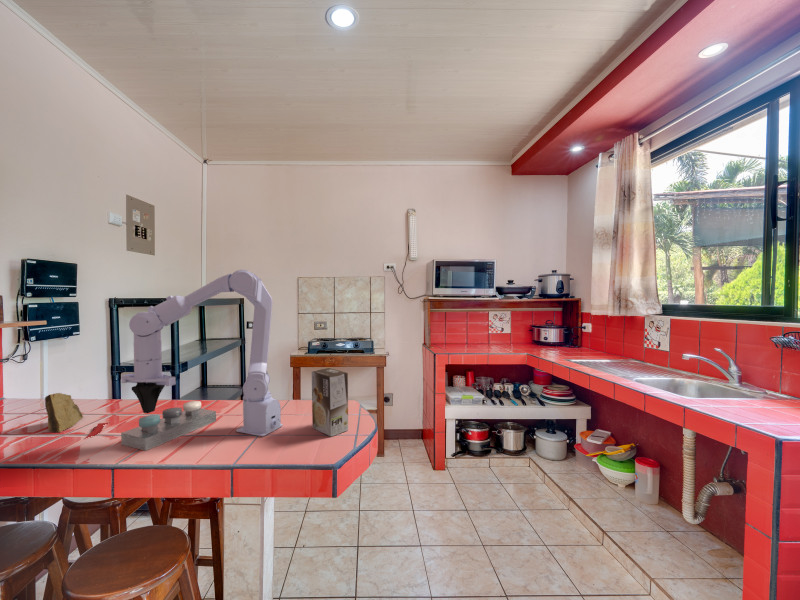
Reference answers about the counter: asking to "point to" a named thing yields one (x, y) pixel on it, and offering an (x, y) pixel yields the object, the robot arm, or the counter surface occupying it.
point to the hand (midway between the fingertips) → (149, 411)
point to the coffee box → (330, 401)
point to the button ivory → (192, 408)
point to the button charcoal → (172, 415)
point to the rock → (61, 412)
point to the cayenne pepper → (96, 429)
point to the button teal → (149, 423)
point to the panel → (167, 430)
